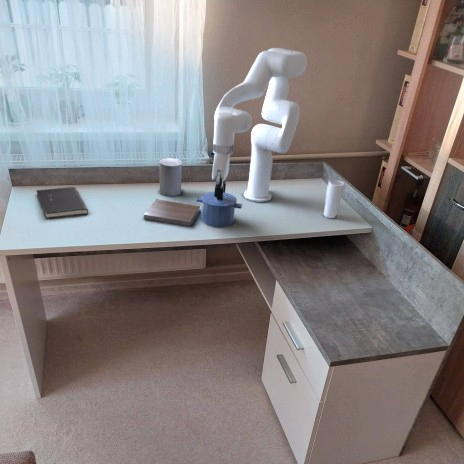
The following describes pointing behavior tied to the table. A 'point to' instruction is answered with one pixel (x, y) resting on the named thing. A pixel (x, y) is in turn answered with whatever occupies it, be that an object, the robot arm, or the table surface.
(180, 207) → the board
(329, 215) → the white cylinder
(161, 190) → the pillar candle
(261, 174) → the robot arm
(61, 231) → the table surface
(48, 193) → the hardcover book
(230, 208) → the pot
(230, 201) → the lid
